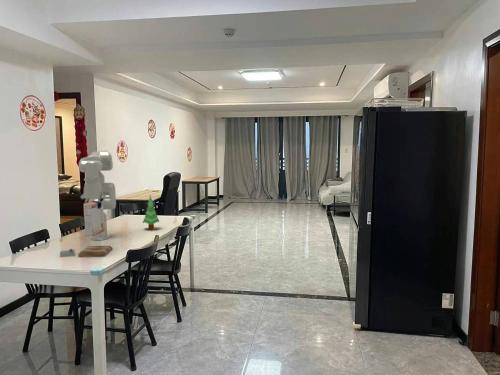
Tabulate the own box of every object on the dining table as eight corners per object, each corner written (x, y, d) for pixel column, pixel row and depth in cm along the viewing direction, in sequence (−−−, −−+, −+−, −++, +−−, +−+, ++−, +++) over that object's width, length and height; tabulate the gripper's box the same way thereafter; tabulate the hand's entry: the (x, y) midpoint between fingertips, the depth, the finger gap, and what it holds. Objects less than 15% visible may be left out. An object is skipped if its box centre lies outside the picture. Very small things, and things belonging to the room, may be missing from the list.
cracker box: (96, 231, 237) (95, 200, 235) (104, 231, 236) (103, 200, 234) (84, 236, 223) (82, 203, 221) (93, 236, 223) (92, 203, 221)
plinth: (88, 250, 238) (87, 245, 238) (112, 249, 239) (112, 245, 239) (78, 257, 222) (78, 252, 222) (104, 256, 224) (104, 251, 223)
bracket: (61, 255, 227) (60, 249, 227) (74, 254, 230) (74, 247, 230) (60, 257, 222) (59, 251, 222) (74, 256, 226) (74, 249, 225)
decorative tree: (158, 227, 312) (157, 193, 310) (160, 230, 298) (159, 195, 295) (142, 228, 308) (141, 193, 305) (143, 231, 293) (142, 195, 291)
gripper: (76, 181, 222) (77, 209, 224) (104, 181, 223) (105, 209, 225) (81, 180, 230) (82, 207, 231) (108, 180, 231) (109, 207, 233)
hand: (93, 208), depth 228 cm, fingers closed on cracker box, 6 cm apart
